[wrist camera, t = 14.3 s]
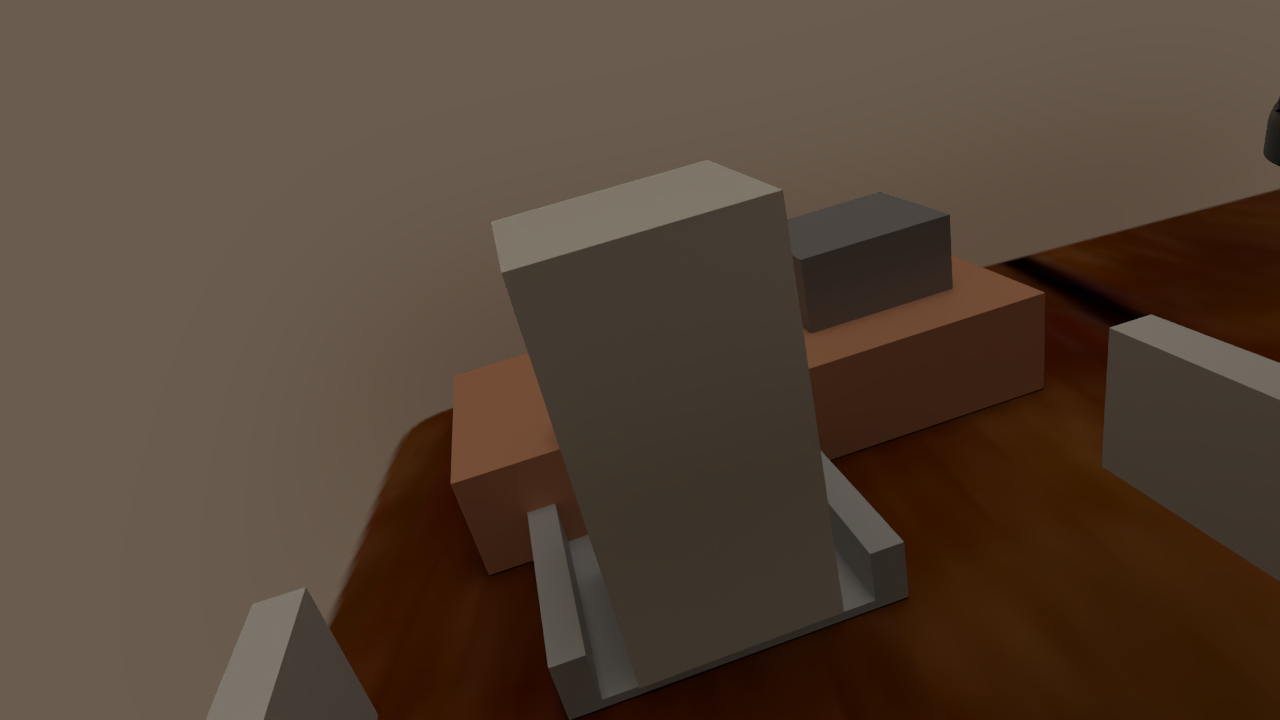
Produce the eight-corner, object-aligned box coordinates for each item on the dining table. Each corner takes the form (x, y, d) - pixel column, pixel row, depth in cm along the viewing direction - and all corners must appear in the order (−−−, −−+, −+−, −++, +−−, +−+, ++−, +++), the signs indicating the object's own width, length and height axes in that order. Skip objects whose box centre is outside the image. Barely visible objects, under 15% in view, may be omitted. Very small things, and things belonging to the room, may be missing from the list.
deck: (912, 313, 36) (902, 174, 33) (1214, 485, 21) (1245, 265, 18) (483, 450, 33) (430, 314, 30) (496, 746, 19) (399, 543, 16)
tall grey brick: (773, 511, 24) (707, 160, 19) (843, 612, 20) (782, 189, 15) (605, 569, 24) (491, 221, 19) (639, 688, 19) (501, 272, 14)
